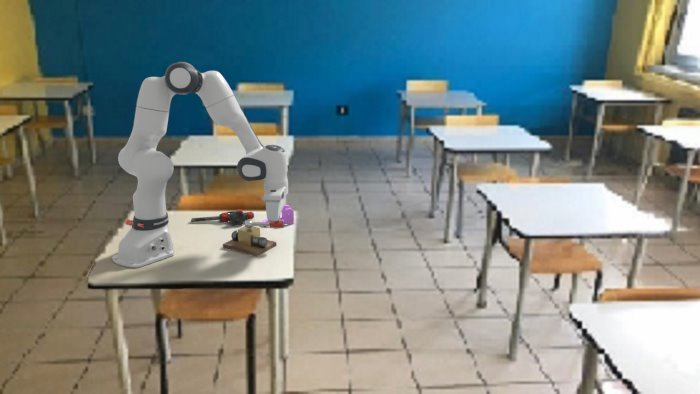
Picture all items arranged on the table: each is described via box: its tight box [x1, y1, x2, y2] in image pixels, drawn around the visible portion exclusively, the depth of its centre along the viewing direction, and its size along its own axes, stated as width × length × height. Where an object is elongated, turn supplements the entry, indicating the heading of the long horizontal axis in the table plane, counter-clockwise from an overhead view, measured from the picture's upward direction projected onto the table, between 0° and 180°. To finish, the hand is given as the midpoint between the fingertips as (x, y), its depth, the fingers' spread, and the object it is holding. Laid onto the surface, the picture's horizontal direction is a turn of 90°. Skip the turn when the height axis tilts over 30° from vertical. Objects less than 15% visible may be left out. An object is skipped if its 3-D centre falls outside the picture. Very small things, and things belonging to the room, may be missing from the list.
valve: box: [190, 209, 255, 226], centre depth 255 cm, size 6×26×15 cm
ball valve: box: [230, 225, 269, 248], centre depth 227 cm, size 6×15×7 cm, turn 60°
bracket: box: [260, 204, 295, 225], centre depth 251 cm, size 13×6×7 cm, turn 110°
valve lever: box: [244, 219, 285, 229], centre depth 226 cm, size 14×3×2 cm, turn 88°
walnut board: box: [222, 238, 277, 258], centre depth 229 cm, size 12×16×2 cm
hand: (277, 223), depth 228 cm, fingers closed
